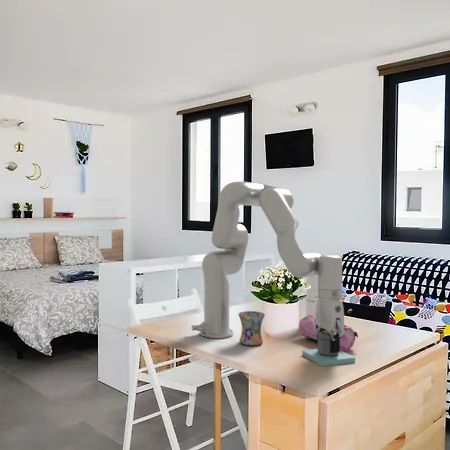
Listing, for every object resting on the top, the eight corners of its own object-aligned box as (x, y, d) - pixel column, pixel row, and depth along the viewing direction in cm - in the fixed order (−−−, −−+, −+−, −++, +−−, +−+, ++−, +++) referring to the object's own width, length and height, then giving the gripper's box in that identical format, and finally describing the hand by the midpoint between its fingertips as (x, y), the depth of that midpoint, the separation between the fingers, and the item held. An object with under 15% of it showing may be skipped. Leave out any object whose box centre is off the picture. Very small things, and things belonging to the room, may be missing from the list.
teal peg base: (322, 366, 146) (322, 350, 146) (302, 354, 157) (302, 339, 157) (355, 362, 150) (355, 346, 150) (333, 351, 161) (333, 336, 161)
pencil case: (358, 350, 164) (359, 324, 164) (339, 354, 159) (339, 327, 159) (315, 335, 182) (315, 312, 182) (297, 338, 177) (297, 314, 177)
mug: (265, 347, 165) (266, 316, 165) (238, 347, 165) (239, 316, 165) (262, 338, 177) (262, 309, 177) (237, 337, 177) (237, 309, 177)
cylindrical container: (325, 328, 193) (326, 266, 192) (307, 328, 193) (308, 266, 193) (321, 324, 200) (323, 264, 200) (304, 323, 201) (305, 264, 200)
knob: (342, 354, 152) (343, 334, 152) (325, 356, 150) (325, 335, 149) (331, 348, 158) (331, 329, 158) (314, 350, 156) (314, 330, 155)
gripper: (355, 298, 146) (354, 356, 147) (324, 289, 163) (323, 341, 163) (334, 299, 144) (333, 358, 144) (305, 290, 160) (304, 343, 160)
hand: (328, 348), depth 154 cm, fingers open, 6 cm apart
